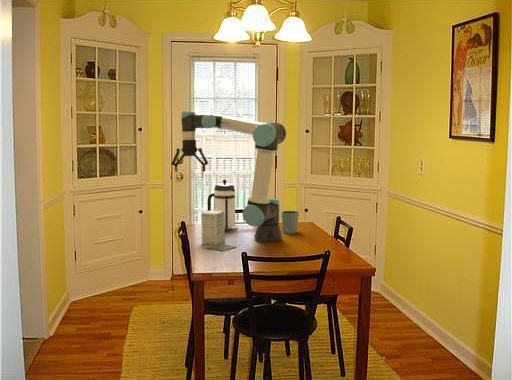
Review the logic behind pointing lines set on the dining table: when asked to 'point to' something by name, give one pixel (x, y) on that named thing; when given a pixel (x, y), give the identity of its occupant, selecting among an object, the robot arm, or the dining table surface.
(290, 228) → the drinking glass
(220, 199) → the coffee press
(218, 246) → the trivet
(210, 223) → the supplement box
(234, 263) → the dining table surface
